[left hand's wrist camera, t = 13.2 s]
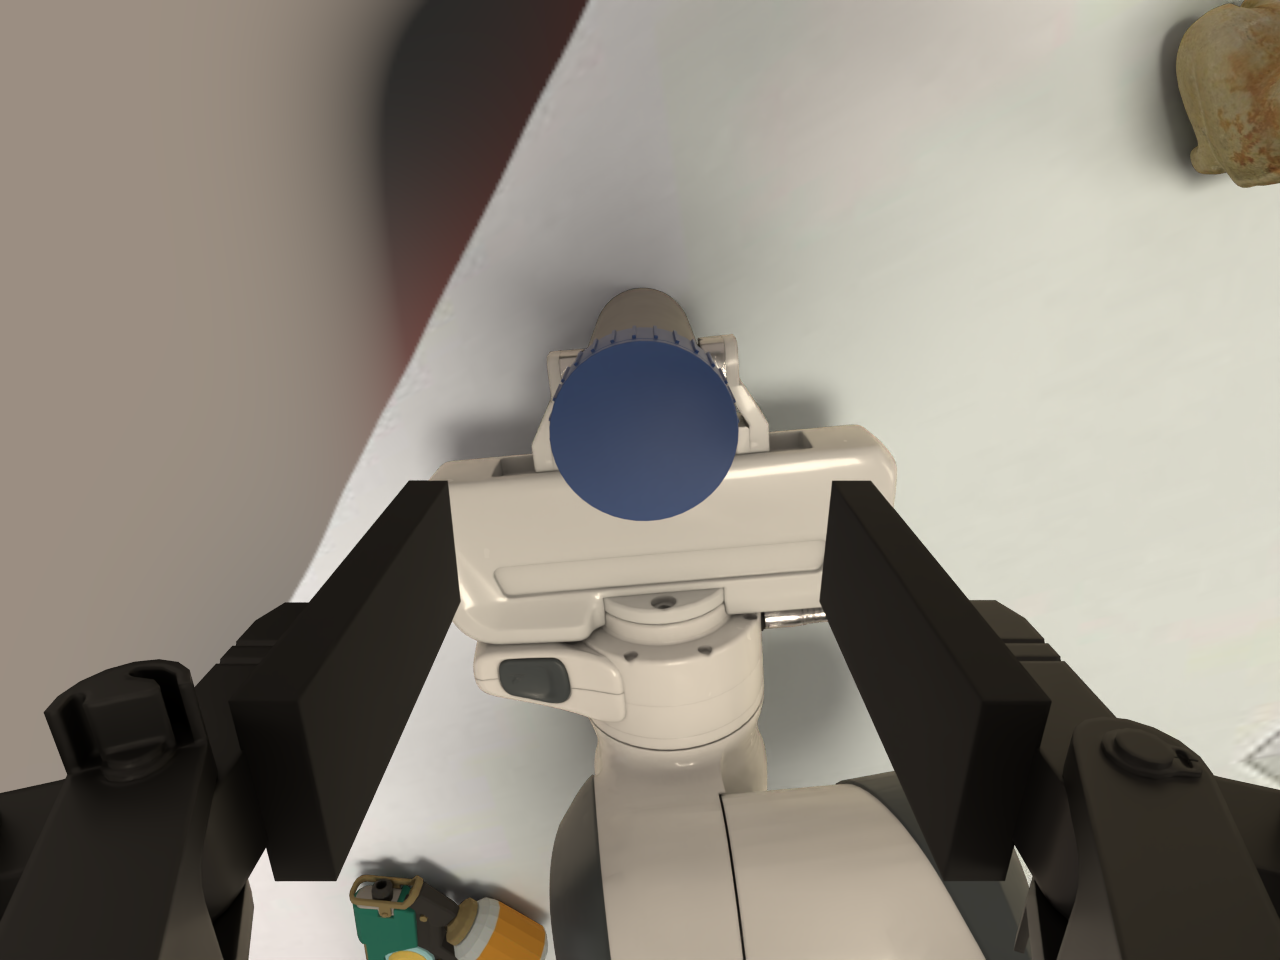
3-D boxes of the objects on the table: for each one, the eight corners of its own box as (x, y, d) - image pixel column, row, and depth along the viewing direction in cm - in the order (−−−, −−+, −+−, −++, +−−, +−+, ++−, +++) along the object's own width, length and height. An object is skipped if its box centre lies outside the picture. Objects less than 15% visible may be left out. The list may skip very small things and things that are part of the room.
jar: (666, 270, 34) (684, 323, 20) (705, 359, 36) (748, 467, 21) (578, 313, 35) (535, 393, 21) (620, 398, 36) (607, 527, 22)
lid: (688, 293, 21) (694, 303, 19) (758, 453, 23) (770, 478, 21) (523, 371, 22) (511, 390, 20) (604, 519, 24) (600, 550, 22)
